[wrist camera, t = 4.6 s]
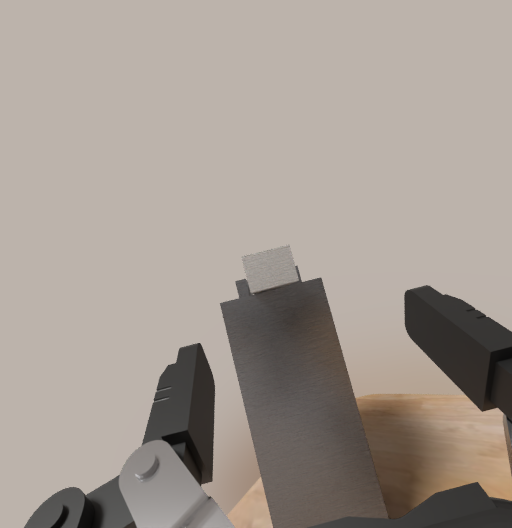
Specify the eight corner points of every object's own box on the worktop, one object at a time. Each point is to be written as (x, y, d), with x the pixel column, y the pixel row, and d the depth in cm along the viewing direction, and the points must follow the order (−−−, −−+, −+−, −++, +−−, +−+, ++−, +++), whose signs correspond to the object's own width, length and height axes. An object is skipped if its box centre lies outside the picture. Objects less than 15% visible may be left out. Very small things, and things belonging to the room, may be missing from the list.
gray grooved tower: (406, 579, 29) (316, 260, 33) (292, 609, 29) (215, 286, 33) (358, 485, 44) (299, 271, 47) (282, 505, 43) (229, 289, 47)
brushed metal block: (298, 280, 23) (289, 244, 23) (250, 292, 23) (241, 256, 23) (280, 288, 45) (275, 269, 45) (255, 294, 45) (250, 275, 45)
